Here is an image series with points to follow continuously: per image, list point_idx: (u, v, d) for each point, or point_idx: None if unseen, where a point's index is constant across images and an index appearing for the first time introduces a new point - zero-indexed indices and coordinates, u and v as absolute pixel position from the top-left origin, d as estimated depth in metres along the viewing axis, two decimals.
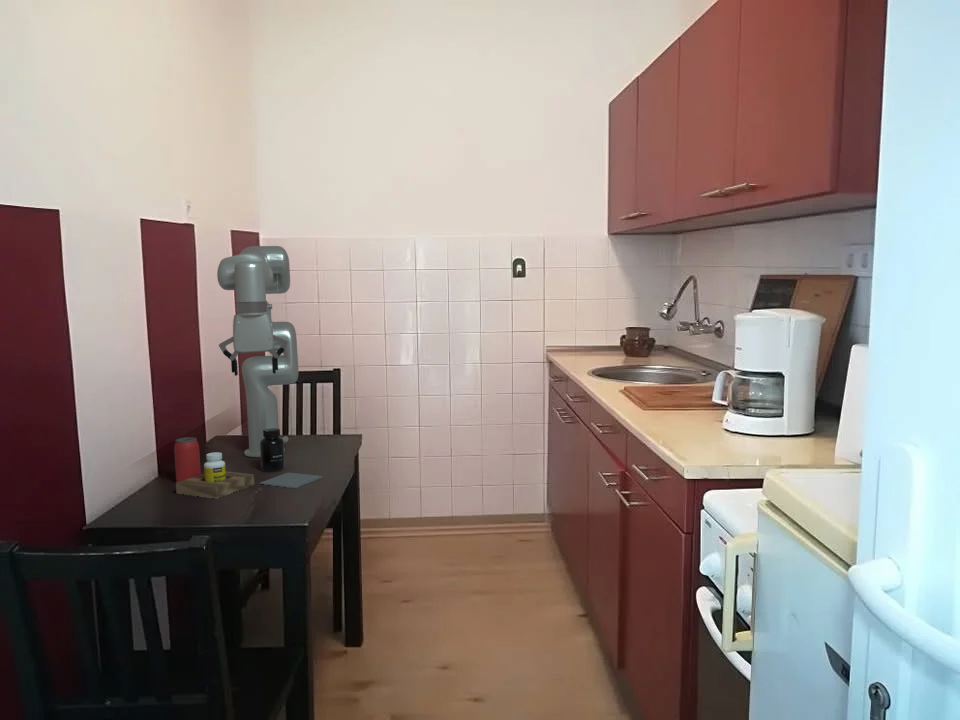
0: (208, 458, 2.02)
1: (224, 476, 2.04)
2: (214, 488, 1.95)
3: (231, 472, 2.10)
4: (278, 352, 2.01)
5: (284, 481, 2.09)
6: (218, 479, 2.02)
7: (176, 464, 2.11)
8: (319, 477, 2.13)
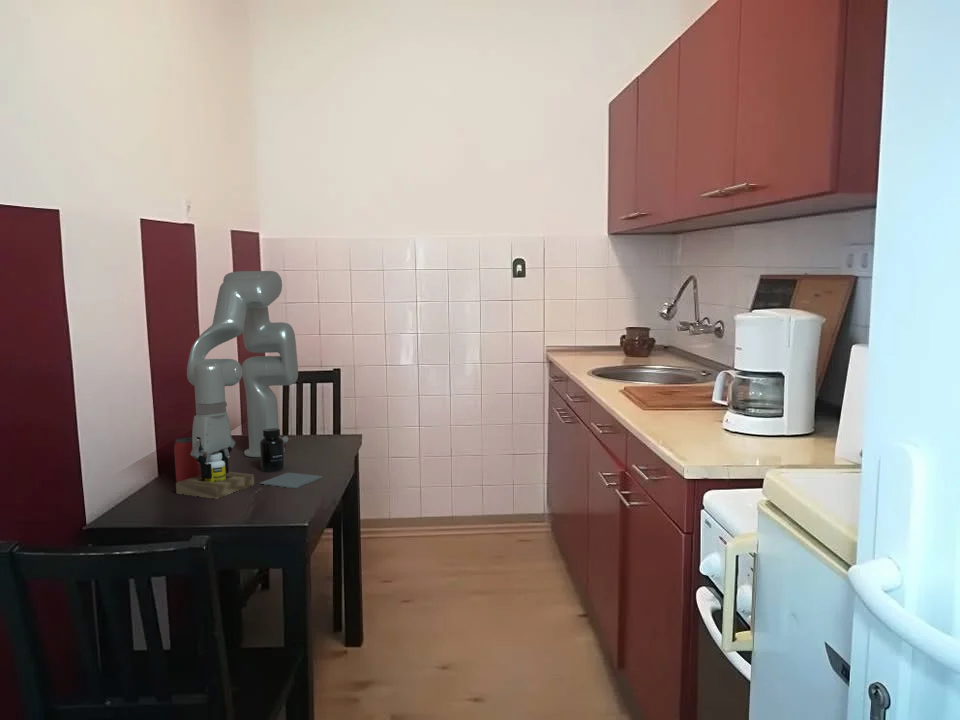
0: None
1: (224, 476, 2.04)
2: (214, 488, 1.95)
3: (231, 472, 2.10)
4: (228, 453, 2.08)
5: (284, 481, 2.09)
6: (218, 479, 2.02)
7: (176, 464, 2.11)
8: (319, 477, 2.13)
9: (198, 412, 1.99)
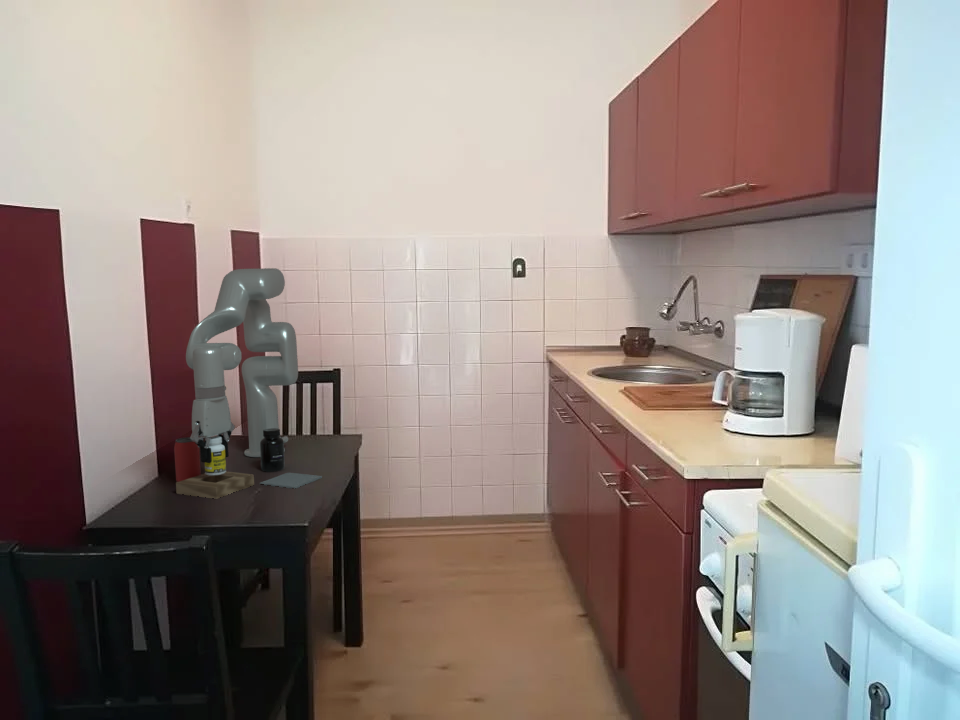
0: None
1: (224, 460, 2.04)
2: (214, 488, 1.95)
3: (231, 472, 2.10)
4: None
5: (284, 481, 2.09)
6: (218, 463, 2.02)
7: (176, 464, 2.11)
8: (319, 477, 2.13)
9: (197, 396, 1.99)
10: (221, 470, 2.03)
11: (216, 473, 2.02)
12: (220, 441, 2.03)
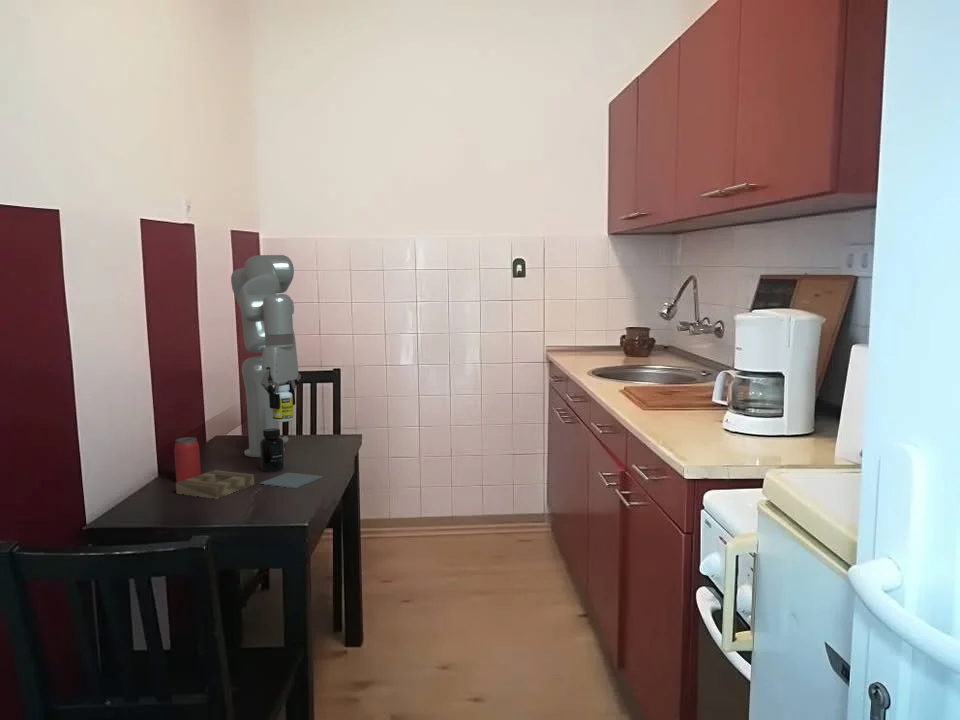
0: None
1: (291, 407, 2.08)
2: (214, 488, 1.95)
3: (231, 472, 2.10)
4: None
5: (284, 481, 2.09)
6: (286, 410, 2.07)
7: (176, 464, 2.11)
8: (319, 477, 2.13)
9: (267, 343, 2.04)
10: (288, 417, 2.07)
11: (284, 419, 2.07)
12: (288, 388, 2.08)
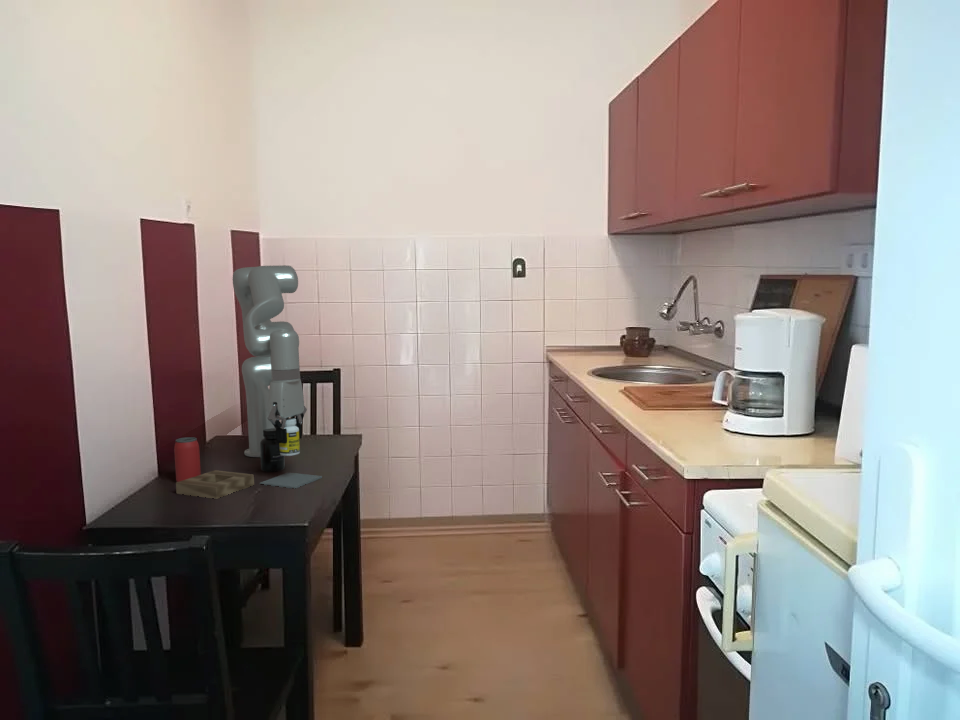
0: None
1: (298, 441, 2.10)
2: (214, 488, 1.95)
3: (231, 472, 2.10)
4: None
5: (284, 481, 2.09)
6: (293, 444, 2.08)
7: (176, 464, 2.11)
8: (319, 477, 2.13)
9: (274, 378, 2.05)
10: (295, 451, 2.08)
11: (291, 453, 2.08)
12: (295, 422, 2.09)
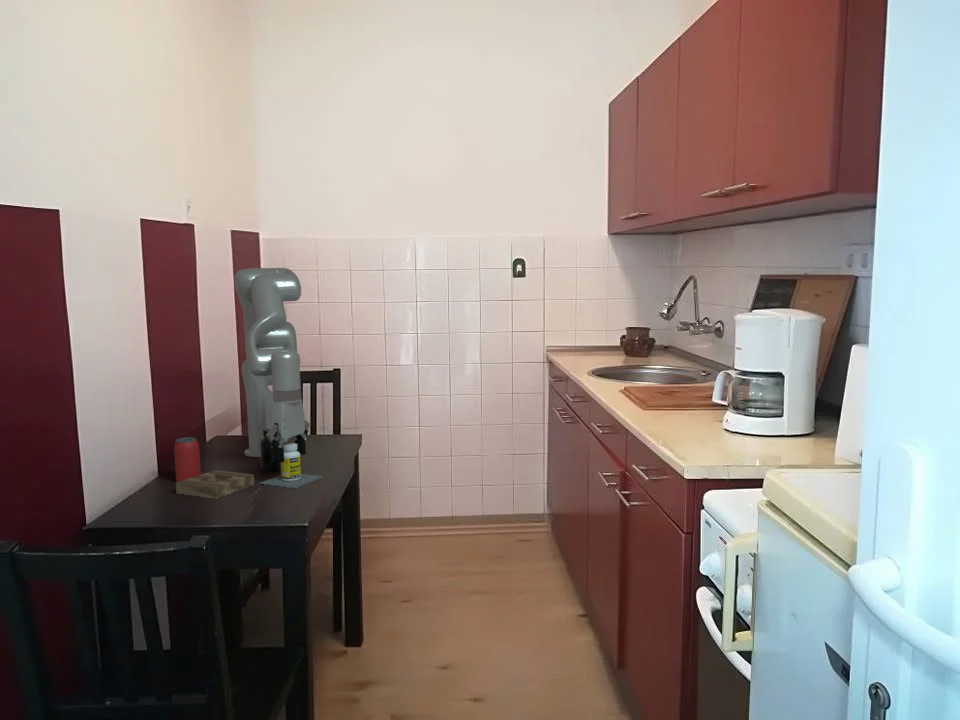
0: (285, 449, 2.09)
1: (299, 466, 2.11)
2: (214, 488, 1.95)
3: (231, 472, 2.10)
4: (305, 434, 2.15)
5: (284, 481, 2.09)
6: (294, 469, 2.09)
7: (176, 464, 2.11)
8: (319, 477, 2.13)
9: (275, 399, 2.06)
10: (296, 476, 2.10)
11: (292, 479, 2.09)
12: (296, 448, 2.10)
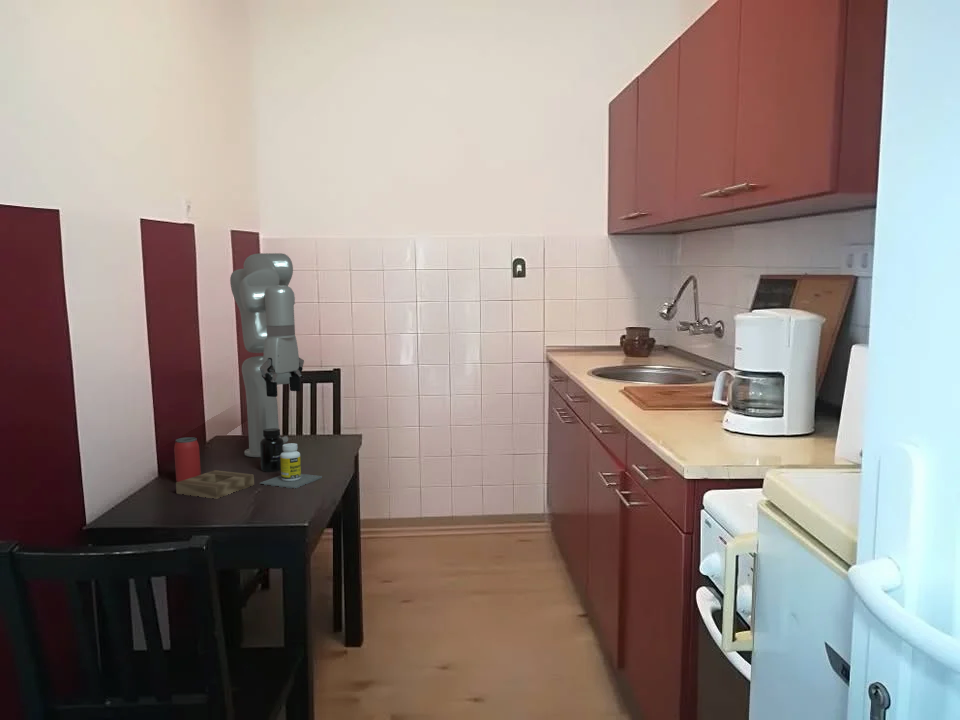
0: (285, 449, 2.09)
1: (299, 466, 2.11)
2: (214, 488, 1.95)
3: (231, 472, 2.10)
4: None
5: (284, 481, 2.09)
6: (294, 469, 2.09)
7: (176, 464, 2.11)
8: (319, 477, 2.13)
9: (269, 334, 2.05)
10: (296, 476, 2.10)
11: (292, 479, 2.09)
12: (296, 448, 2.10)
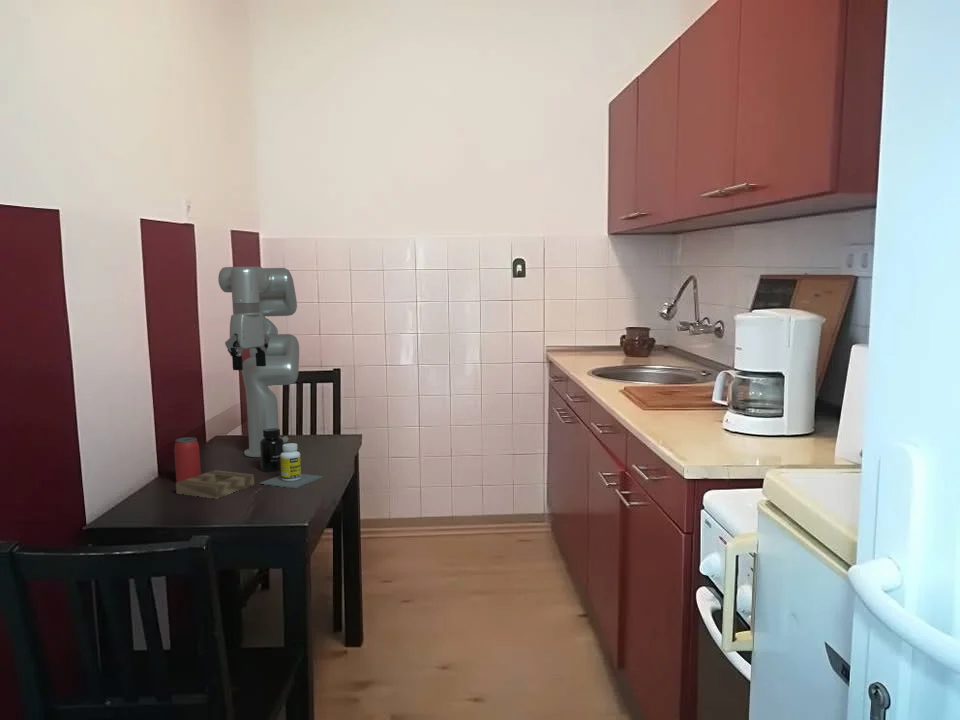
0: (285, 449, 2.09)
1: (299, 466, 2.11)
2: (214, 488, 1.95)
3: (231, 472, 2.10)
4: (265, 347, 2.27)
5: (284, 481, 2.09)
6: (294, 469, 2.09)
7: (176, 464, 2.11)
8: (319, 477, 2.13)
9: (235, 311, 2.18)
10: (296, 476, 2.10)
11: (292, 479, 2.09)
12: (296, 448, 2.10)
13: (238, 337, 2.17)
